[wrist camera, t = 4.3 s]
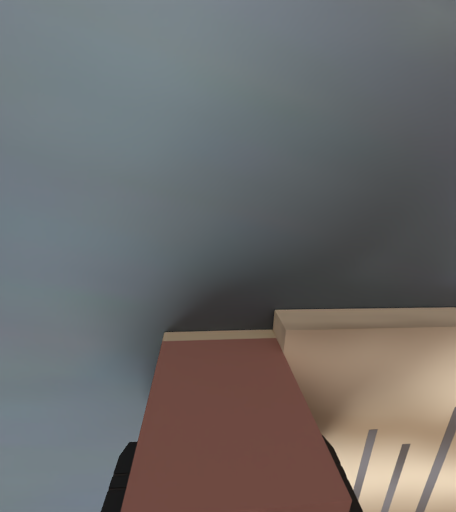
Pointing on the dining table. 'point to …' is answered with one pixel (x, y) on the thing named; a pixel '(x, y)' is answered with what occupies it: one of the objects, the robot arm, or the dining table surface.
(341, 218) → the dining table surface
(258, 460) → the block
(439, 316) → the board
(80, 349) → the dining table surface
